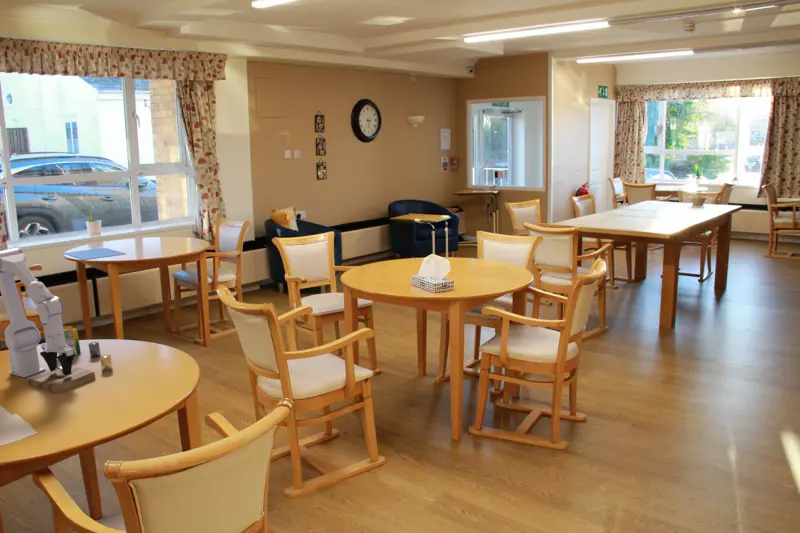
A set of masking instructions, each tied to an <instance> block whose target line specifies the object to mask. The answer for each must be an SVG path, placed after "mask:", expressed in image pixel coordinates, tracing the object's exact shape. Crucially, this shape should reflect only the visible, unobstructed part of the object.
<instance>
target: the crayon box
mask: <svg viewBox="0 0 800 533" xmlns="http://www.w3.org/2000/svg"><path fill="white" fill-rule="evenodd" d="M63 330H64V337H65V343H66V345H67V346H68V347H70V348H71V349H73V352H74V353H75V357H76V356H78V355H80V354H81V353H82V352H81V346H80V338H79V333H78V328H73V326H72V325H63ZM57 355H58V356H60V355H62V353H57Z"/></svg>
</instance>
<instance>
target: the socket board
mask: <svg viewBox="0 0 800 533" xmlns="http://www.w3.org/2000/svg"><path fill="white" fill-rule="evenodd" d="M26 379H27V384H28V386H31V387H34V388H38V389H41V390H43V391H48V392H51V393H55V394H60V393H63V392H65V391H68V390H70V389H72V388H75V387H77V386H79V385H83V384H86V383H87V382H89V381H92V380H94V379H96V374H95V371H94V370H91V369H86V368H82V367H79V366H75V365H72V368H71V373H70V374H68V376H65V377H62V378H60V379H57V377H56V371H55V370H54V371H50V369H47V370H44V371H41V372H39V373H36V374H33V375H30V376H28V377H26Z"/></svg>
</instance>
